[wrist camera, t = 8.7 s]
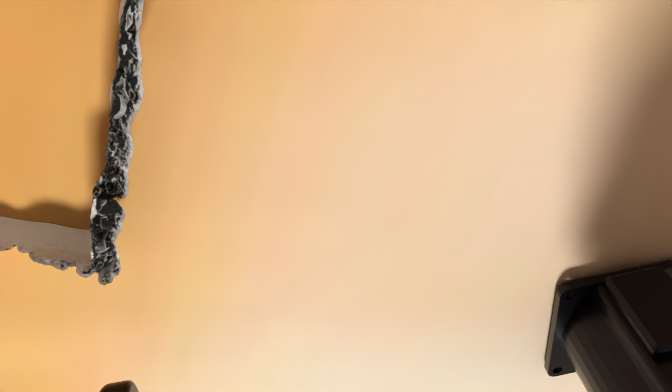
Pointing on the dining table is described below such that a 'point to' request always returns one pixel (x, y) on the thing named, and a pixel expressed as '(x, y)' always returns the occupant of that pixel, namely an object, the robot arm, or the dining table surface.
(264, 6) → the dining table surface
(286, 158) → the dining table surface
